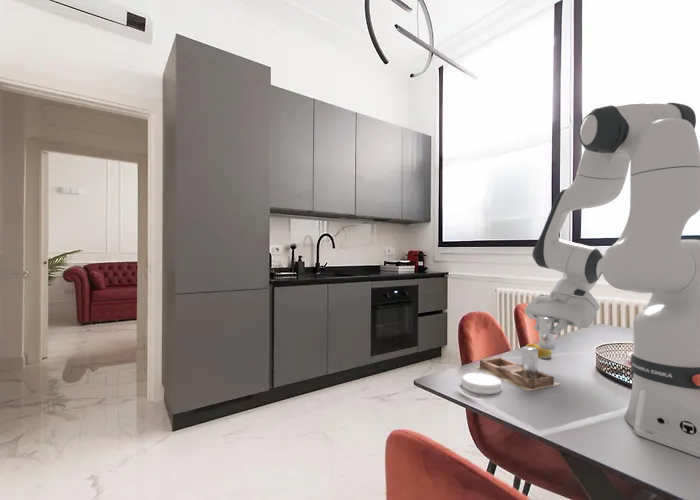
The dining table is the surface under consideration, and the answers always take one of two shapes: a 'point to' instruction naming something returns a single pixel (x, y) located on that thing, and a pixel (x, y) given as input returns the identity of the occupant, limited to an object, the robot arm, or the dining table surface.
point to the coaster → (481, 384)
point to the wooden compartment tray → (514, 374)
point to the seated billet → (530, 362)
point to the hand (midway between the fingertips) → (545, 331)
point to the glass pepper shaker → (546, 333)
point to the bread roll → (541, 351)
